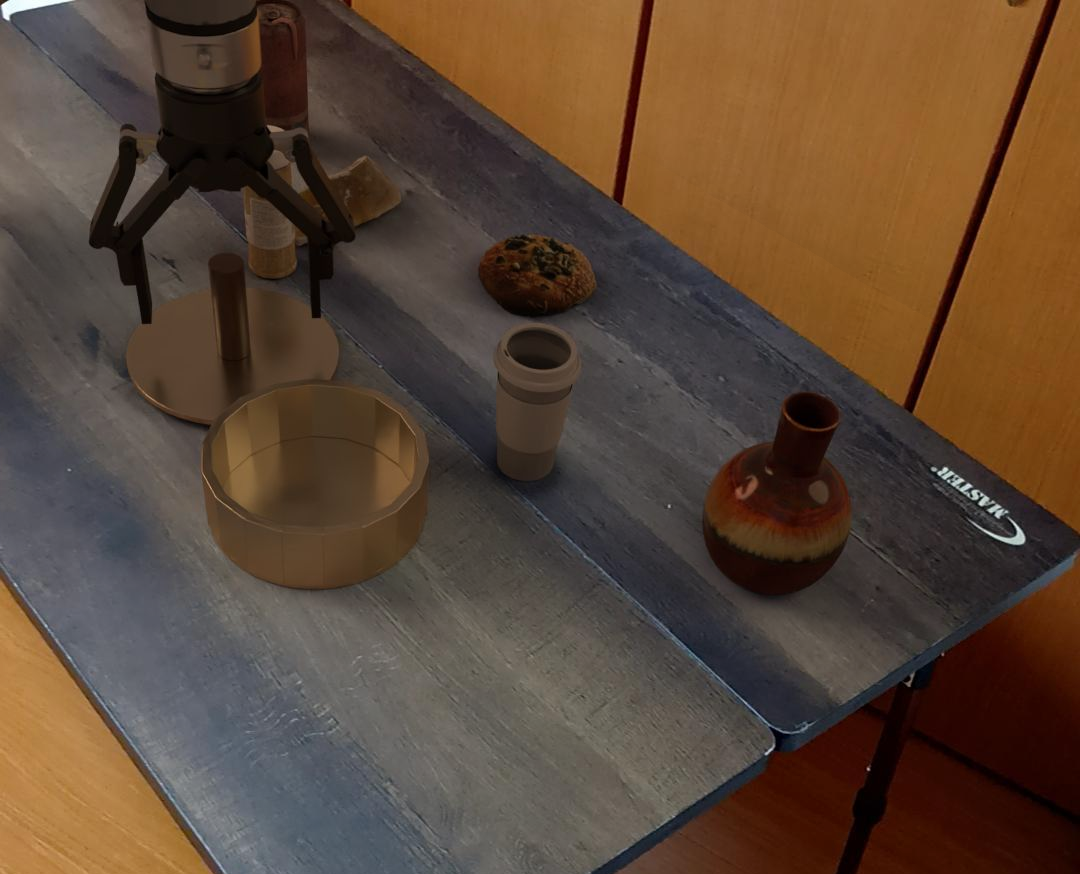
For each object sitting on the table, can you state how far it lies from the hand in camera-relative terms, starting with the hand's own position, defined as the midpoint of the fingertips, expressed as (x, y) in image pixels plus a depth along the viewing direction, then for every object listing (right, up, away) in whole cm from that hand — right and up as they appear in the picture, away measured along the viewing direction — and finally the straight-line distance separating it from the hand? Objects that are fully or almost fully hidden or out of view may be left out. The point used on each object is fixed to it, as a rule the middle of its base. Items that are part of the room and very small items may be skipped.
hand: (232, 311), depth 109 cm
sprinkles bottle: (+1, +6, +14) cm, 15 cm away
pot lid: (-1, -3, +4) cm, 5 cm away
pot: (+8, -16, -7) cm, 20 cm away
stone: (+5, +16, +18) cm, 24 cm away
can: (-2, +22, +28) cm, 36 cm away
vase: (+43, -20, -6) cm, 48 cm away
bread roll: (+25, +5, +16) cm, 30 cm away
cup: (+24, -13, -1) cm, 27 cm away
